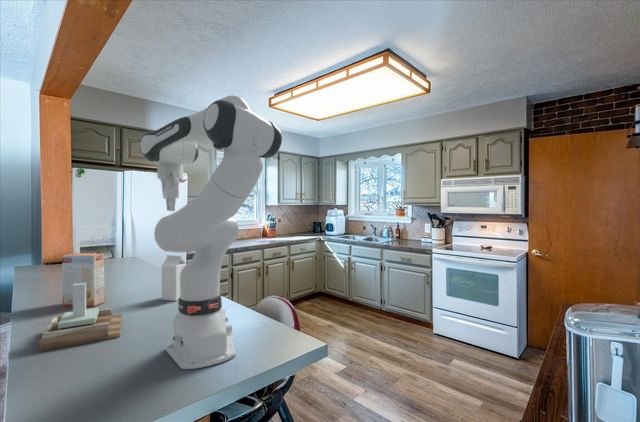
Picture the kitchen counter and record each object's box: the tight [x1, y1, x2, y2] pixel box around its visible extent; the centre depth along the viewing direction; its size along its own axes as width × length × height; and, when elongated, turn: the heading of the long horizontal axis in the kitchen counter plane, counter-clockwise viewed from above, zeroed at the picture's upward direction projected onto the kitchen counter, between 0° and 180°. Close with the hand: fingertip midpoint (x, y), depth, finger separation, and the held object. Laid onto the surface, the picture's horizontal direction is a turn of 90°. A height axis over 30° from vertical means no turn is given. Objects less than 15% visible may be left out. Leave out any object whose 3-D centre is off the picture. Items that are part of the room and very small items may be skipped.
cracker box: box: [61, 252, 105, 307], centre depth 127 cm, size 14×6×21 cm, turn 84°
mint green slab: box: [58, 282, 100, 330], centre depth 98 cm, size 11×9×13 cm
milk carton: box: [161, 254, 187, 302], centre depth 136 cm, size 7×7×19 cm
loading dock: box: [38, 308, 123, 353], centre depth 99 cm, size 18×19×4 cm
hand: (170, 210), depth 116 cm, fingers open, 8 cm apart
